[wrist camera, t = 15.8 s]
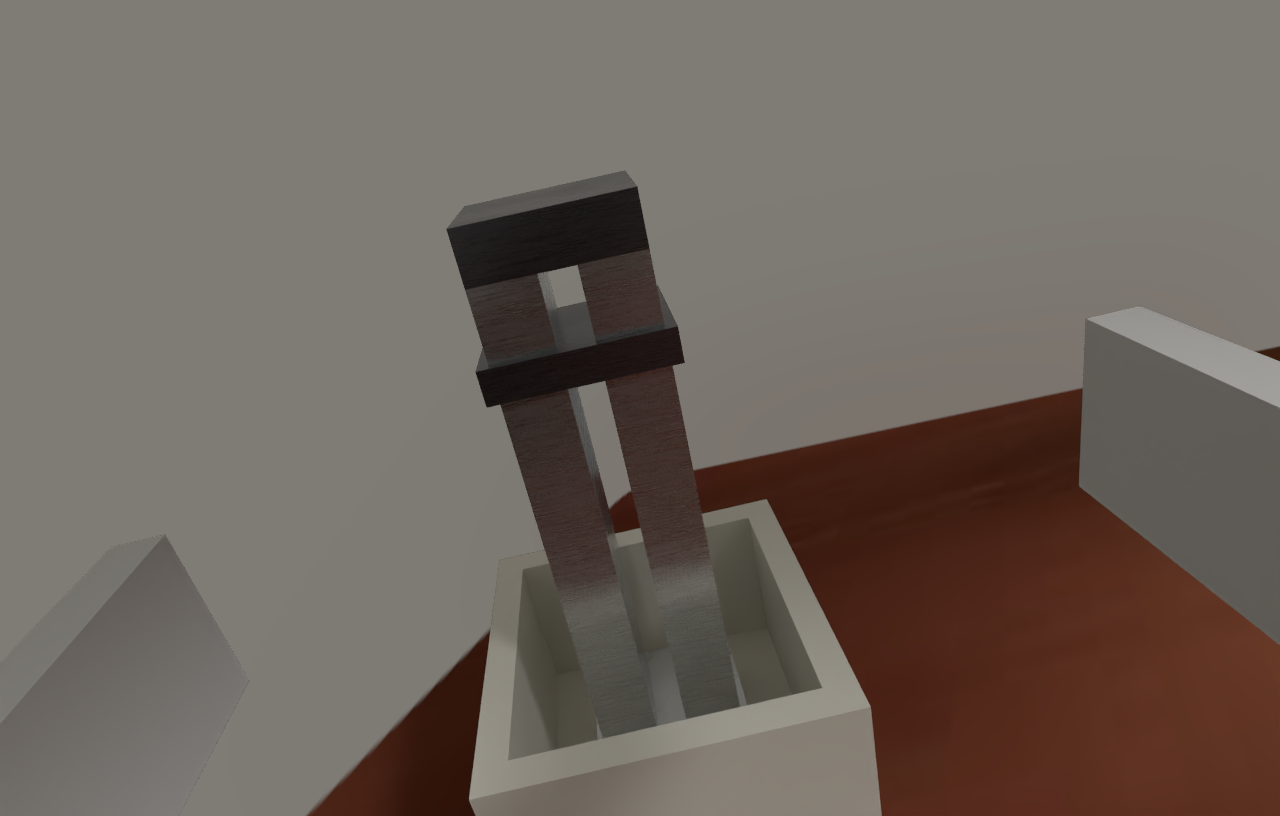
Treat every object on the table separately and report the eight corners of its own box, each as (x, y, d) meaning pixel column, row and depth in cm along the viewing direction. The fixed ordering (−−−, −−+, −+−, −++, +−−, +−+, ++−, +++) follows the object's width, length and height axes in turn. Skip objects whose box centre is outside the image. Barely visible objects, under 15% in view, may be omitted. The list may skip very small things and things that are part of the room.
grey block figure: (733, 673, 29) (633, 166, 21) (764, 776, 25) (652, 186, 17) (604, 703, 29) (456, 205, 21) (612, 812, 25) (429, 236, 17)
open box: (785, 624, 33) (766, 499, 30) (886, 863, 23) (870, 706, 20) (540, 680, 33) (499, 559, 30) (531, 946, 23) (469, 799, 20)
